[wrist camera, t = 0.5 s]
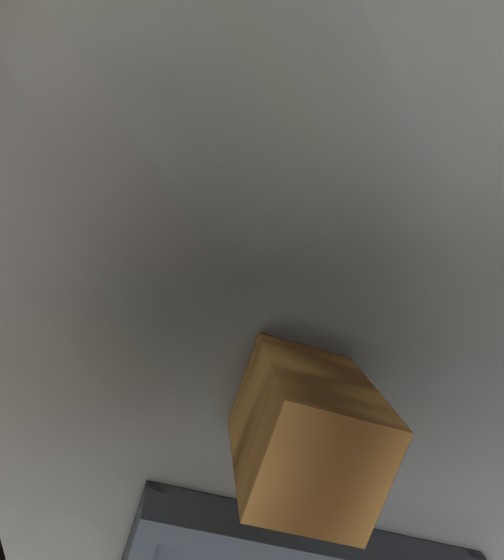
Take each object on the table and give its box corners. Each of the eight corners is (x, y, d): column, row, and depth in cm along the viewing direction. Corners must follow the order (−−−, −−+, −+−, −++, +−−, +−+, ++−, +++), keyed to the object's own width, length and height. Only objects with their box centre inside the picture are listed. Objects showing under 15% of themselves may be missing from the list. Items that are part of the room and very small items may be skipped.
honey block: (350, 358, 22) (413, 433, 15) (317, 443, 22) (364, 549, 16) (258, 332, 21) (284, 400, 14) (227, 421, 22) (240, 523, 15)
